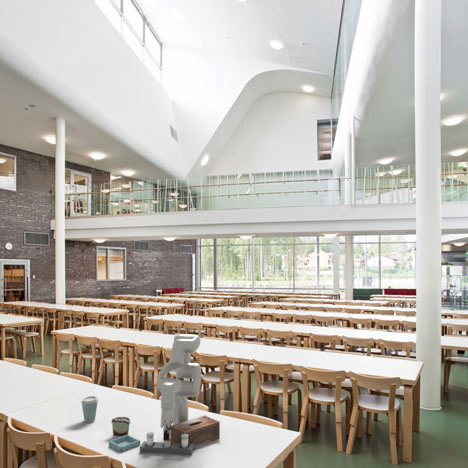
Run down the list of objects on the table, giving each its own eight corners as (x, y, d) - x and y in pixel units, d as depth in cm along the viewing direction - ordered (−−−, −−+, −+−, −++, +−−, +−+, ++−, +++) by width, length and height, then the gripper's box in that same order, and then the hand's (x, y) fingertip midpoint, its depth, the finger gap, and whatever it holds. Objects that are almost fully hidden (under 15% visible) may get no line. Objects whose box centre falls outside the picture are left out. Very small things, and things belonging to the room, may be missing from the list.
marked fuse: (168, 444, 240) (168, 428, 240) (172, 447, 237) (172, 430, 237) (162, 447, 237) (162, 430, 237) (166, 449, 234) (167, 432, 234)
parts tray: (127, 440, 252) (127, 434, 253) (140, 446, 244) (140, 440, 244) (108, 447, 243) (108, 441, 243) (120, 453, 235) (121, 447, 235)
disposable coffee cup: (92, 424, 278) (92, 401, 279) (77, 423, 280) (78, 400, 281) (100, 418, 289) (101, 396, 290) (86, 417, 291) (86, 395, 292)
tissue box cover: (204, 431, 267) (204, 415, 268) (219, 438, 256) (219, 421, 257) (170, 443, 250) (170, 425, 250) (184, 451, 239) (184, 432, 240)
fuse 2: (185, 449, 238) (185, 433, 239) (189, 451, 235) (190, 435, 236) (179, 451, 235) (179, 435, 236) (184, 454, 232) (184, 437, 233)
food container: (134, 434, 262) (134, 417, 263) (128, 438, 256) (129, 421, 257) (116, 432, 266) (116, 415, 266) (110, 435, 260) (111, 419, 260)
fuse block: (139, 454, 234) (139, 446, 235) (143, 448, 241) (144, 441, 242) (191, 457, 231) (191, 449, 231) (194, 451, 238) (194, 443, 238)
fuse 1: (150, 447, 240) (150, 431, 241) (154, 449, 237) (155, 433, 238) (144, 450, 237) (145, 433, 238) (149, 452, 235) (149, 435, 235)
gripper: (165, 400, 247) (165, 432, 246) (156, 410, 230) (156, 444, 229) (177, 400, 246) (177, 432, 245) (170, 410, 229) (170, 445, 228)
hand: (167, 438), depth 237 cm, fingers closed on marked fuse, 4 cm apart
